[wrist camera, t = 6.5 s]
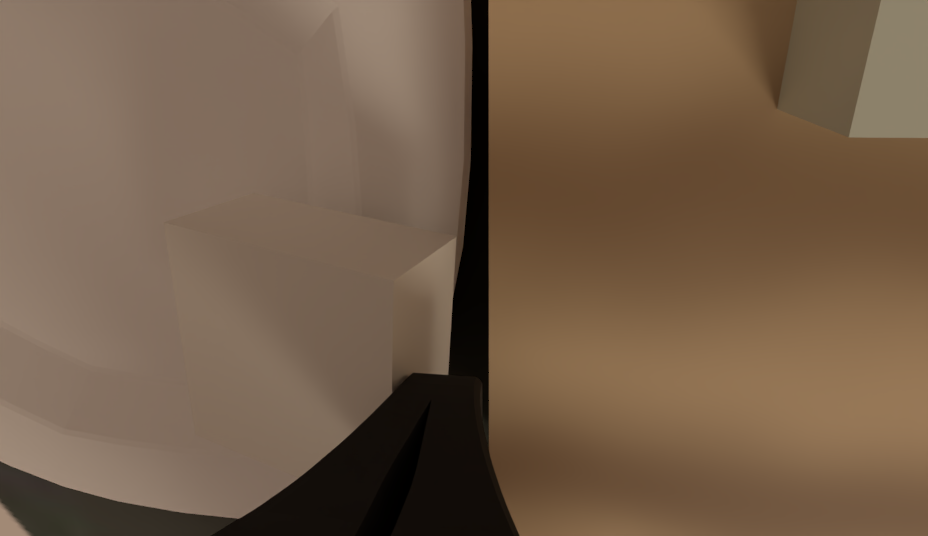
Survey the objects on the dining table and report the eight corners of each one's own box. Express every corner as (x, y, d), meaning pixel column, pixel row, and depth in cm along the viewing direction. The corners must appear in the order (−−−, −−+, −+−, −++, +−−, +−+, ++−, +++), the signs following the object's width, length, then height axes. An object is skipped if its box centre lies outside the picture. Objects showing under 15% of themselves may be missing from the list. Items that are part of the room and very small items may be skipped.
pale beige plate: (-162, 357, 20) (-233, 391, 18) (-319, -415, 12) (-475, -493, 10) (380, 536, 19) (363, 588, 18) (592, -131, 12) (599, -159, 10)
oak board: (1056, 477, 15) (1196, 604, 12) (501, 436, 17) (489, 535, 13) (1469, -382, 9) (2019, -623, 5) (507, -297, 10) (488, -437, 7)
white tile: (444, 442, 13) (389, 516, 11) (269, 380, 15) (195, 434, 13) (456, 236, 11) (393, 280, 9) (253, 193, 13) (163, 222, 11)
